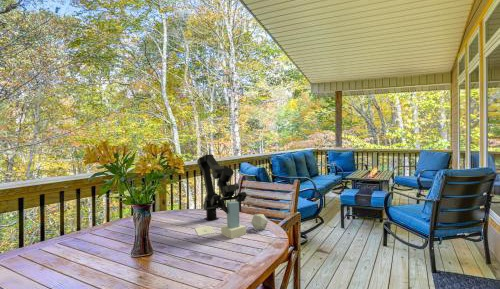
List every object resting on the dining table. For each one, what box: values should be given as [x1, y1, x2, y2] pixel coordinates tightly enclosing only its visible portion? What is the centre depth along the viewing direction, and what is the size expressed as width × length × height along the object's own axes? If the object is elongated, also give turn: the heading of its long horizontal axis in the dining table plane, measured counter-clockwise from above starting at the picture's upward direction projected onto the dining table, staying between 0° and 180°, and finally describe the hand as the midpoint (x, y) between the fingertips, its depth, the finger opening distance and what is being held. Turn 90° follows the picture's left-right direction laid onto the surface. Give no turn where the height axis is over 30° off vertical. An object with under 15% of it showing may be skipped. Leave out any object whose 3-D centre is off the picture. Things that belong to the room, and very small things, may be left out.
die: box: [250, 213, 269, 231], centre depth 156 cm, size 8×9×10 cm
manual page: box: [194, 225, 217, 236], centre depth 156 cm, size 12×9×1 cm
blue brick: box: [226, 200, 241, 228], centre depth 149 cm, size 4×5×12 cm
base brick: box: [220, 223, 247, 240], centre depth 149 cm, size 9×9×4 cm
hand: (234, 212), depth 148 cm, fingers open, 7 cm apart
